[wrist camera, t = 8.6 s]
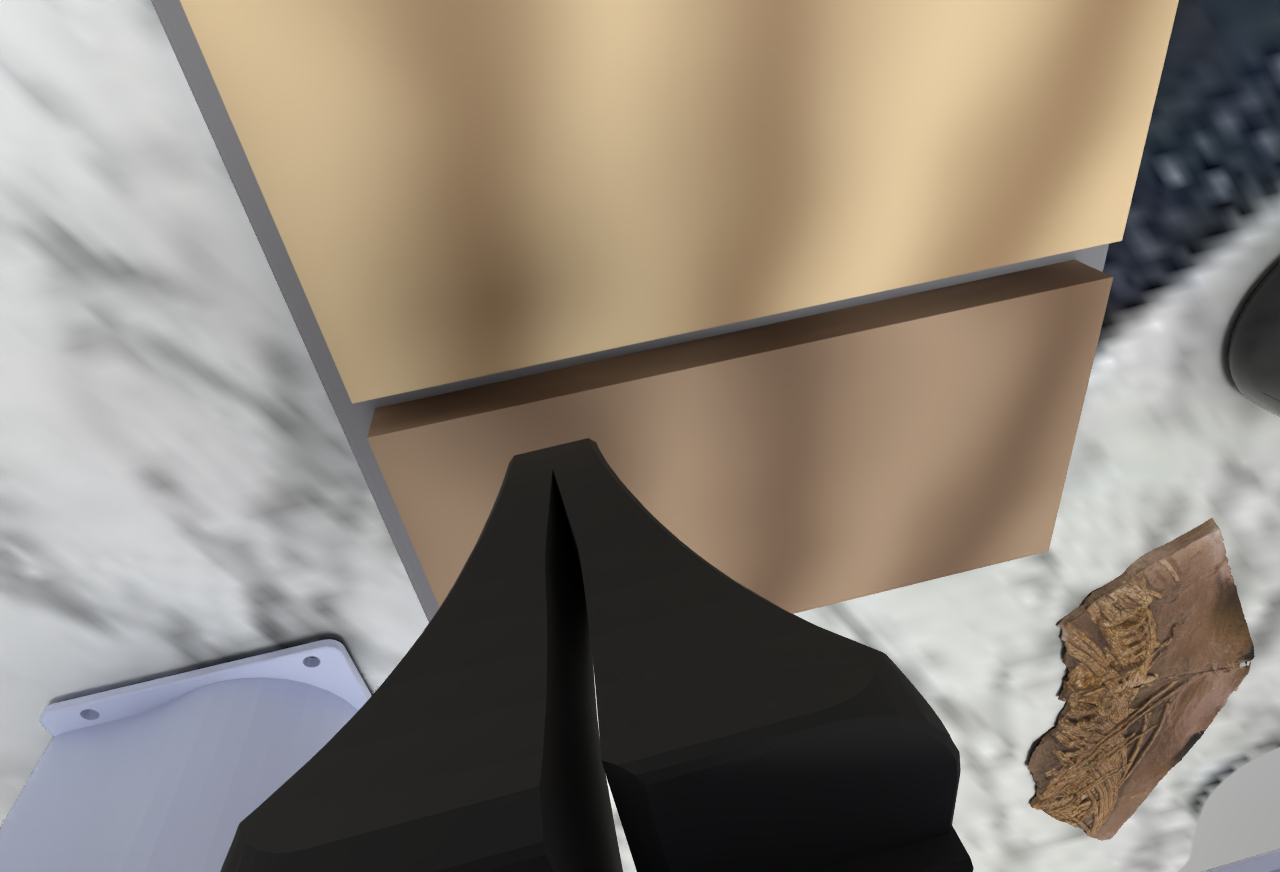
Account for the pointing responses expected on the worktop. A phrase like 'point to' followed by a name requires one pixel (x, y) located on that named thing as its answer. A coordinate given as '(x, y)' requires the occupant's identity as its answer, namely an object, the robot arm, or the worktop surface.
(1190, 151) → the worktop surface
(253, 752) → the robot arm
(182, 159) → the worktop surface
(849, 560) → the walnut floorboard
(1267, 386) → the supplement bottle
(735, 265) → the oak plank
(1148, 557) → the wooden fragment
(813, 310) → the underlay mat
